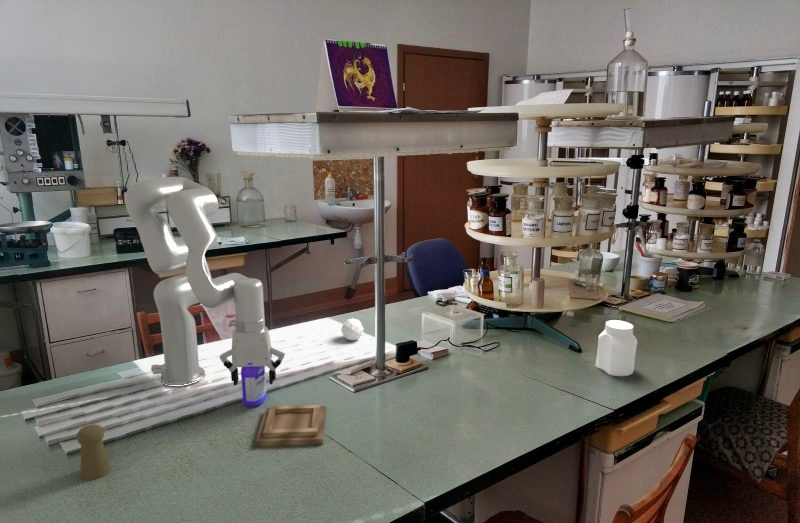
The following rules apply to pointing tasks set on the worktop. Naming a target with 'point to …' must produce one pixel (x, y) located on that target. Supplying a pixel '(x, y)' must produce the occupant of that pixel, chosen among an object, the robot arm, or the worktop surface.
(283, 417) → the walnut base
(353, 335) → the geometric ball
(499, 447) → the worktop surface
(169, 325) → the robot arm
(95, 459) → the tan game pawn
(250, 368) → the bottle
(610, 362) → the jar
